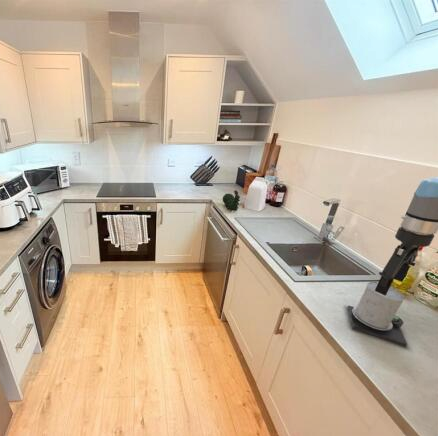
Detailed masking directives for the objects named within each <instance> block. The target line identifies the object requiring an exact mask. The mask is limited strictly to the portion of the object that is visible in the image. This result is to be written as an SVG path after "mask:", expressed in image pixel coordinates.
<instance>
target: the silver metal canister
mask: <svg viewBox="0 0 438 436" xmlns="http://www.w3.org/2000/svg"><path fill="white" fill-rule="evenodd" d="M378 282H379V281H369V282H368V283H366V287H365V289H364V291H363V293H362V295H361V297H360V299H359V302H358V304H357V306H356V307H357V308H356V309H355V313H356V315H357V316H358V317H359V318H360V319H362V320H363V321H365V322H366V323H368V324H370V325H373V326H376V327H380V328H387V327H389V326H390V323H391V321H392V320H393V318H394V316H395V315H397V313H398V311H399V309H400V307H401V306H402V304H403V302H404V300H405V299H406V296H405V294H404V293H403V292H402V291H400V290H399V289H397V288H396V287H394V286H392V285H391V286H390V288H389V290H388V292H387V294H386V295H383V294H381V293H378V292H376V291H375V289H376V287H377V285H378Z"/></svg>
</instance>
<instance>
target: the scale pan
mask: <svg viewBox="0 0 438 436" xmlns="http://www.w3.org/2000/svg"><path fill="white" fill-rule="evenodd" d="M353 307H354V308H353V310H352V312H353V314H354V316H355V317H356V318H357V319H358V320H359V321H361V322H362V323H364V324H366V325H367V326H369V327H372V328H374V329H378V330H383V331H387V330H391V329H392V327H393V325H392V323H390V326H389V327H387V328H380V327H376V326H373V325H370V324H368V323H366V322H365V321H363V320H362V319H360V318H359V317H358V316H357V315H356V313H355V309H356V308H357V306H353Z"/></svg>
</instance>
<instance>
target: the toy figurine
mask: <svg viewBox="0 0 438 436" xmlns="http://www.w3.org/2000/svg"><path fill="white" fill-rule="evenodd" d="M233 193H234V195H233V194H232V193H225V194H224V195H223V197H222V202H223V204H224V207H225V209H227V211H230V212H232V211H235V212H237V211H238V209H239V206H240V201H241V196H240V195H239V192H238V190H235V189H234V191H233Z"/></svg>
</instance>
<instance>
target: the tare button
mask: <svg viewBox="0 0 438 436" xmlns="http://www.w3.org/2000/svg"><path fill="white" fill-rule="evenodd" d="M399 318H400V317H399V316H398V315H397V314H395V316H394V318H393V320H392V321H395V322H397V321H398V319H399Z"/></svg>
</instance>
